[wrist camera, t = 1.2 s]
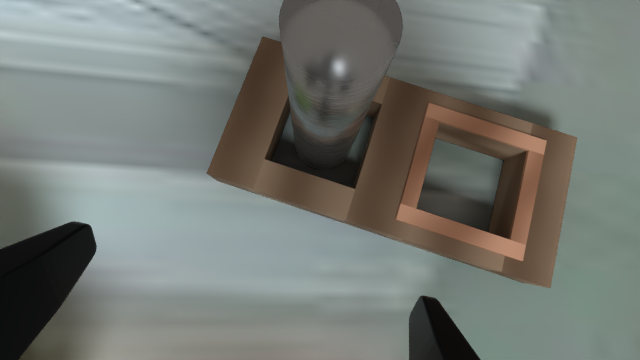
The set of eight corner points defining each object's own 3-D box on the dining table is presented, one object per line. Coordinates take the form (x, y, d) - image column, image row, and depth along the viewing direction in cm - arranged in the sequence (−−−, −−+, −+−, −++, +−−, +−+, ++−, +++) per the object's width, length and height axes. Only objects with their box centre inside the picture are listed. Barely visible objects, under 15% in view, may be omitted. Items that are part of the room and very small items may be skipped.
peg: (360, 154, 23) (425, 48, 10) (310, 179, 23) (313, 98, 10) (334, 107, 24) (366, -49, 11) (285, 130, 23) (258, -5, 10)
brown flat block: (549, 148, 24) (579, 136, 21) (523, 282, 22) (552, 288, 19) (267, 57, 24) (262, 34, 22) (217, 180, 22) (205, 172, 20)
